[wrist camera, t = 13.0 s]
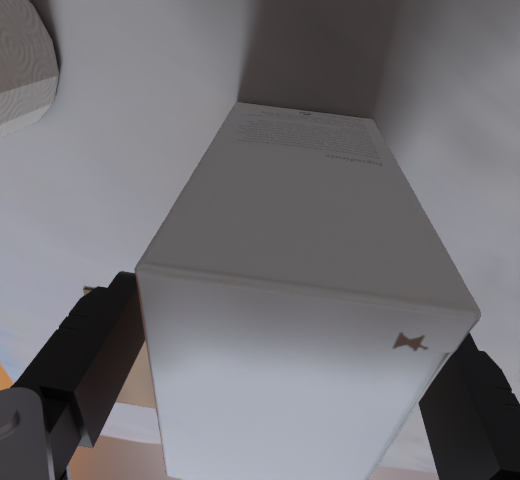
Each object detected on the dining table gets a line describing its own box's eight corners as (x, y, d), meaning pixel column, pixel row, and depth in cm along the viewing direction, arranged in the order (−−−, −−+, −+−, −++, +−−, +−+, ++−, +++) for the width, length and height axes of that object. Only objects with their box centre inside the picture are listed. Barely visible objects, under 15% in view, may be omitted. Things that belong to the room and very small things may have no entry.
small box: (235, 98, 14) (122, 257, 5) (376, 116, 14) (498, 312, 5) (227, 257, 18) (158, 482, 10) (332, 272, 18) (357, 515, 10)
